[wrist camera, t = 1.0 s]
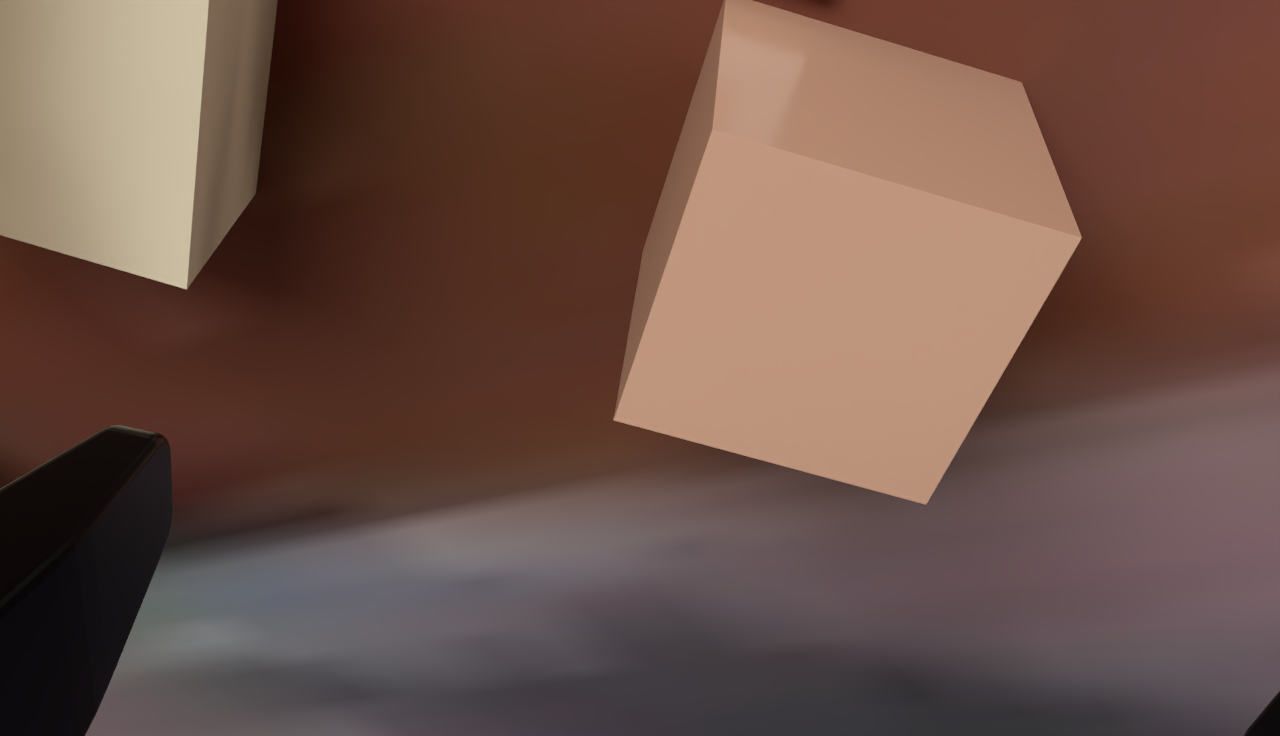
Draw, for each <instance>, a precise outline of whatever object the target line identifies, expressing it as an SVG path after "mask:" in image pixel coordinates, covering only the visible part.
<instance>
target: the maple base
mask: <svg viewBox="0 0 1280 736" xmlns="http://www.w3.org/2000/svg"><path fill="white" fill-rule="evenodd" d="M277 2H278V0H0V235H2V236H5V237H9V238H12V239H15V240H19V241H22V242H26V243H29V244H33V245H36V246H39V247H43V248H46V249H50V250H53V251H57V252H60V253H63V254H67V255H70V256H74V257H77V258H81V259H84V260H87V261H91V262H94V263H98V264H101V265H105V266H108V267H111V268H115V269H118V270H122V271H125V272H129V273H132V274H135V275H139V276H142V277H146V278H149V279H153V280H156V281H159V282H163V283H166V284H170V285H173V286H177V287H180V288H183V289H188V287H189V286H190V284H191V283H192V282H193V280H194V279H195V277H196V276H197V275H198V273H199V272H200V270H201V269H202V268H203V266H204V265H205V263H206V262H207V261H208V259H209V258H210V257H211V255H212V254H213V252H214V251H215V250H216V248H217V247H218V245H219V244H220V243H221V241H222V240H223V238H224V237H225V236H226V234H227V233H228V231H229V230H230V229H231V227H232V226H233V224H234V223H235V222H236V220H237V219H238V218H239V216H240V215H241V213H242V212H243V211H244V209H245V208H246V206H247V205H248V204H249V202H250V201H251V199H252V198H253V197H254V195H255V194H256V188H257V179H258V170H259V161H260V152H261V143H262V135H263V126H264V117H265V108H266V99H267V91H268V82H269V73H270V64H271V55H272V46H273V38H274V29H275V20H276V11H277Z"/></svg>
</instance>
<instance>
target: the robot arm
mask: <svg viewBox="0 0 1280 736" xmlns="http://www.w3.org/2000/svg"><path fill="white" fill-rule="evenodd" d="M173 512H174V507H173V489H172V471H171V452H170V446H169V443H168V441H167V439H166V438H165V437H164V436H163V435H161V434H159V433H155V432H150V431H145V430H141V429H136V428H131V427H126V426H121V425H113V426H110V427H107V428H104V429H102V430H100V431H99V432H97V433H95V434H94V435H92V436H90V437H88V438H87V439H85V440H83V441H82V442H80V443H78V444H76V445H75V446H73V447H71V448H69V449H68V450H66V451H64V452H63V453H61V454H59V455H57V456H56V457H54V458H52V459H51V460H49V461H47V462H45V463H44V464H42V465H40V466H39V467H37V468H35V469H33V470H32V471H30V472H28V473H26V474H25V475H23V476H21V477H20V478H18V479H16V480H14V481H13V482H11V483H9V484H8V485H6V486H4V487H2V488H1V489H0V736H85V734H86V732H87V731H88V729H89V727H90V725H91V723H92V721H93V719H94V717H95V715H96V713H97V711H98V708H99V706H100V704H101V701H102V699H103V697H104V694H105V692H106V690H107V688H108V685H109V683H110V680H111V678H112V675H113V673H114V671H115V668H116V666H117V663H118V661H119V658H120V656H121V653H122V651H123V648H124V646H125V643H126V641H127V639H128V636H129V634H130V631H131V629H132V626H133V624H134V621H135V619H136V616H137V614H138V611H139V609H140V607H141V604H142V602H143V599H144V597H145V594H146V592H147V589H148V587H149V584H150V582H151V580H152V577H153V575H154V572H155V570H156V567H157V565H158V562H159V560H160V557H161V555H162V552H163V550H164V548H165V545H166V543H167V540H168V537H169V534H170V530H171V526H172V521H173ZM1244 736H1280V691H1279V692H1278V694H1277V695H1276V696H1275V697H1274V698H1273V700H1272V701H1271V702H1270V703H1269V704H1268V706H1267V707H1266V708H1265V709H1264V710H1263V712H1262V713H1261V714H1260V715H1259V716H1258V717H1257V719H1256V720H1255V721H1254V722H1253V723H1252V725H1251V726H1250V727H1249V728H1248V730H1247V731H1246V733H1245V735H1244Z"/></svg>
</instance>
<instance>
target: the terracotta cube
mask: <svg viewBox="0 0 1280 736" xmlns="http://www.w3.org/2000/svg"><path fill="white" fill-rule="evenodd" d="M1081 238H1082V237H1081V234H1080V232H1079V229H1078V227H1077V224H1076V221H1075V219H1074V216H1073V214H1072V211H1071V208H1070V206H1069V203H1068V201H1067V198H1066V196H1065V193H1064V190H1063V188H1062V185H1061V183H1060V180H1059V178H1058V175H1057V172H1056V170H1055V167H1054V165H1053V162H1052V159H1051V157H1050V154H1049V152H1048V149H1047V147H1046V144H1045V141H1044V139H1043V136H1042V134H1041V131H1040V128H1039V126H1038V123H1037V121H1036V118H1035V116H1034V113H1033V110H1032V108H1031V105H1030V103H1029V100H1028V98H1027V95H1026V92H1025V90H1024V87H1023V85H1022V82H1019V81H1016V80H1013V79H1009V78H1006V77H1003V76H999V75H996V74H993V73H989V72H986V71H983V70H980V69H976V68H973V67H970V66H966V65H963V64H960V63H957V62H953V61H950V60H947V59H943V58H940V57H937V56H934V55H930V54H927V53H924V52H920V51H917V50H914V49H911V48H907V47H904V46H901V45H897V44H894V43H891V42H887V41H884V40H881V39H878V38H874V37H871V36H868V35H864V34H861V33H858V32H855V31H851V30H848V29H845V28H841V27H838V26H835V25H832V24H828V23H825V22H822V21H818V20H815V19H812V18H809V17H805V16H802V15H799V14H795V13H792V12H789V11H785V10H782V9H779V8H776V7H772V6H769V5H766V4H762V3H759V2H756V1H753V0H724V1H723V4H722V8H721V11H720V14H719V17H718V20H717V23H716V26H715V29H714V32H713V35H712V39H711V42H710V45H709V48H708V51H707V54H706V57H705V60H704V63H703V67H702V70H701V73H700V76H699V79H698V82H697V85H696V88H695V91H694V94H693V98H692V101H691V104H690V107H689V110H688V113H687V116H686V119H685V122H684V125H683V129H682V132H681V135H680V138H679V141H678V144H677V147H676V150H675V153H674V156H673V160H672V163H671V166H670V169H669V172H668V175H667V178H666V181H665V184H664V187H663V191H662V194H661V197H660V200H659V203H658V206H657V209H656V212H655V215H654V218H653V222H652V225H651V228H650V231H649V234H648V237H647V240H646V243H645V246H644V249H643V254H642V260H641V266H640V272H639V277H638V283H637V289H636V295H635V300H634V306H633V312H632V317H631V323H630V329H629V335H628V340H627V346H626V352H625V358H624V363H623V369H622V375H621V381H620V386H619V392H618V398H617V403H616V409H615V415H614V420H615V421H618V422H622V423H626V424H629V425H633V426H637V427H641V428H644V429H648V430H652V431H655V432H659V433H663V434H666V435H670V436H674V437H678V438H681V439H685V440H689V441H692V442H696V443H700V444H703V445H707V446H711V447H715V448H718V449H722V450H726V451H729V452H733V453H737V454H741V455H744V456H748V457H752V458H755V459H759V460H763V461H766V462H770V463H774V464H778V465H781V466H785V467H789V468H792V469H796V470H800V471H803V472H807V473H811V474H815V475H818V476H822V477H826V478H829V479H833V480H837V481H840V482H844V483H848V484H852V485H855V486H859V487H863V488H866V489H870V490H874V491H877V492H881V493H885V494H889V495H892V496H896V497H900V498H903V499H907V500H911V501H914V502H918V503H922V504H927V502H928V501H929V499H930V497H931V495H932V494H933V492H934V490H935V489H936V487H937V485H938V483H939V482H940V480H941V478H942V477H943V475H944V473H945V471H946V470H947V468H948V466H949V465H950V463H951V461H952V459H953V458H954V456H955V454H956V453H957V451H958V449H959V447H960V446H961V444H962V442H963V441H964V439H965V437H966V435H967V434H968V432H969V430H970V429H971V427H972V425H973V423H974V422H975V420H976V418H977V417H978V415H979V413H980V411H981V410H982V408H983V406H984V405H985V403H986V401H987V399H988V398H989V396H990V394H991V393H992V391H993V389H994V387H995V386H996V384H997V382H998V381H999V379H1000V377H1001V375H1002V374H1003V372H1004V370H1005V369H1006V367H1007V365H1008V363H1009V362H1010V360H1011V358H1012V357H1013V355H1014V353H1015V351H1016V350H1017V348H1018V346H1019V345H1020V343H1021V341H1022V339H1023V338H1024V336H1025V334H1026V333H1027V331H1028V329H1029V327H1030V326H1031V324H1032V322H1033V321H1034V319H1035V317H1036V315H1037V314H1038V312H1039V310H1040V309H1041V307H1042V305H1043V303H1044V302H1045V300H1046V298H1047V297H1048V295H1049V293H1050V291H1051V290H1052V288H1053V286H1054V285H1055V283H1056V281H1057V280H1058V278H1059V276H1060V274H1061V273H1062V271H1063V269H1064V268H1065V266H1066V264H1067V262H1068V261H1069V259H1070V257H1071V256H1072V254H1073V252H1074V250H1075V249H1076V247H1077V245H1078V244H1079V242H1080V240H1081Z"/></svg>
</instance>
